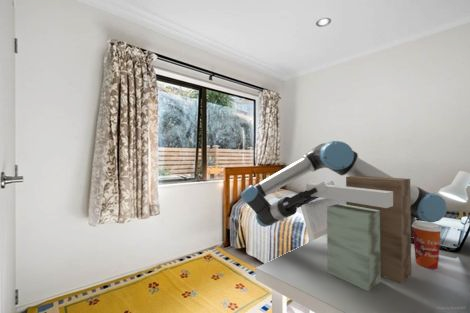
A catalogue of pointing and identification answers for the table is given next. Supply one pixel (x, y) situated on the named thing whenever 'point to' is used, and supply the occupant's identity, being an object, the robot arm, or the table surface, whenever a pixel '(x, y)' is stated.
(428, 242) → the paper cup
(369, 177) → the wooden boards
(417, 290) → the table surface
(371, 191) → the white block
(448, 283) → the table surface
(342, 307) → the table surface
